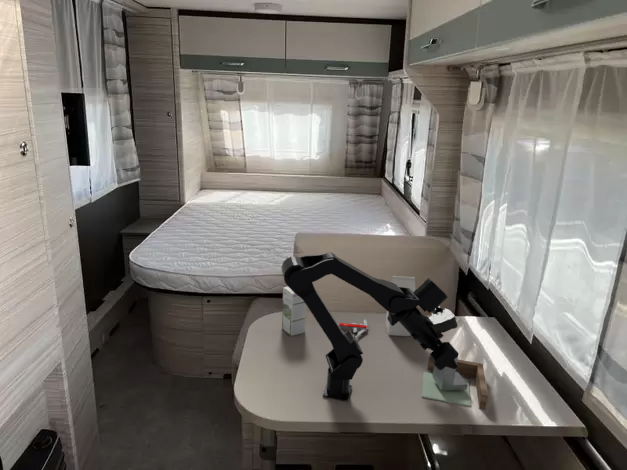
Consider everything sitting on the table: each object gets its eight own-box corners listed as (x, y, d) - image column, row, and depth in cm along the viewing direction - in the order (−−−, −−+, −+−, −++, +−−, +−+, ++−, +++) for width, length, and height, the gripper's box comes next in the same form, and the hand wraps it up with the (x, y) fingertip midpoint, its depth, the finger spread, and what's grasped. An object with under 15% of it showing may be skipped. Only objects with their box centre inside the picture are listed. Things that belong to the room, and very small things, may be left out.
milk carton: (410, 336, 154) (417, 281, 149) (388, 335, 154) (394, 280, 149) (406, 326, 161) (413, 273, 156) (385, 325, 161) (391, 272, 156)
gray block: (441, 390, 124) (447, 355, 121) (432, 377, 130) (437, 344, 127) (466, 389, 125) (472, 355, 123) (456, 376, 131) (462, 343, 128)
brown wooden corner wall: (485, 409, 120) (488, 395, 119) (425, 397, 123) (427, 384, 122) (480, 376, 134) (482, 363, 133) (427, 366, 137) (429, 354, 136)
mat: (470, 406, 120) (470, 405, 120) (421, 397, 123) (422, 396, 123) (468, 380, 132) (468, 379, 132) (423, 372, 134) (423, 371, 134)
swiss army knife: (331, 339, 150) (331, 333, 150) (332, 319, 163) (333, 314, 163) (367, 342, 150) (368, 336, 149) (366, 322, 163) (367, 317, 162)
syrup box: (305, 332, 153) (308, 290, 149) (290, 336, 150) (292, 293, 146) (296, 325, 157) (298, 283, 153) (280, 329, 154) (282, 286, 150)
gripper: (456, 318, 111) (492, 360, 116) (426, 287, 129) (458, 324, 134) (419, 350, 112) (457, 389, 117) (394, 314, 130) (428, 350, 135)
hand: (450, 361), depth 126 cm, fingers closed on gray block, 6 cm apart
